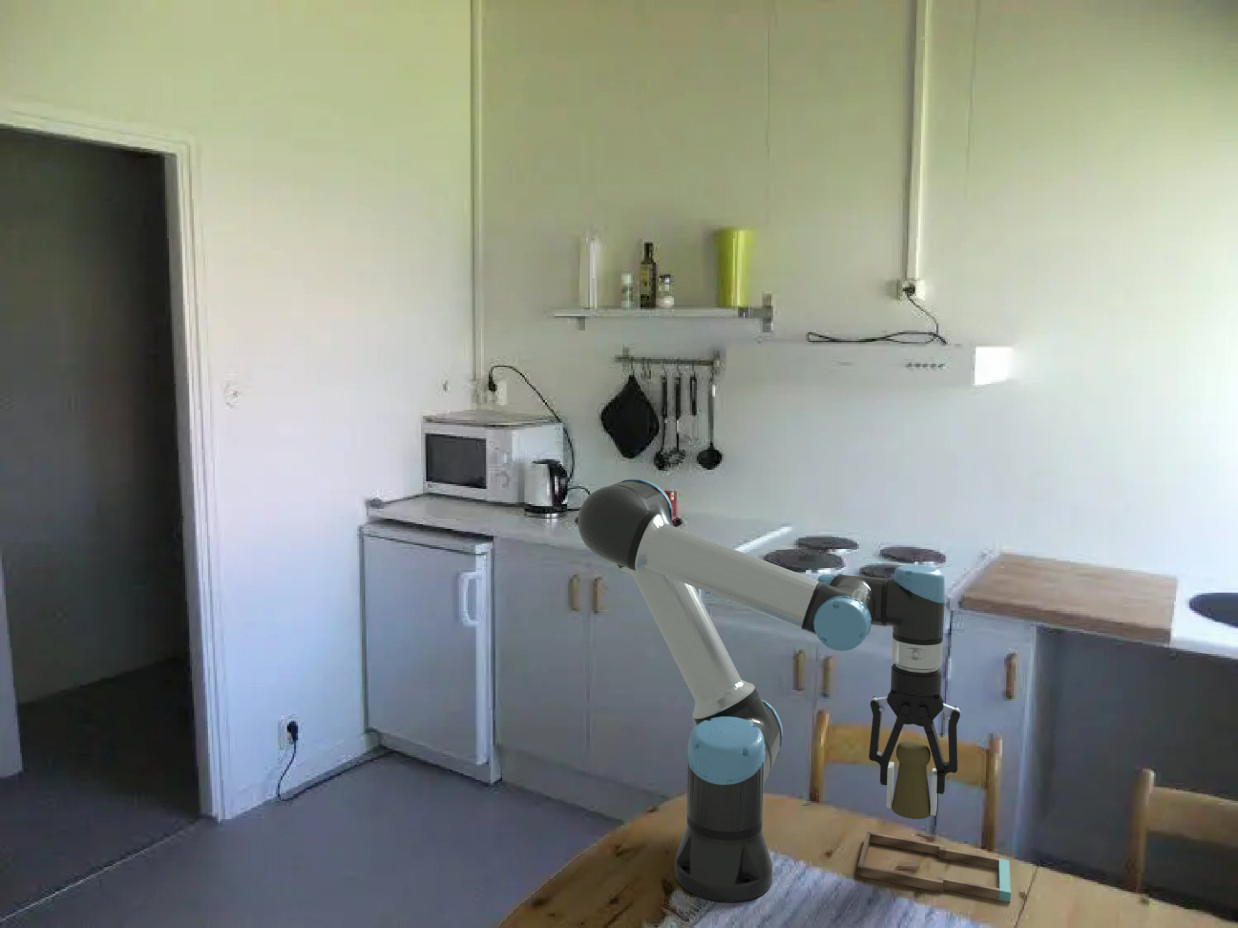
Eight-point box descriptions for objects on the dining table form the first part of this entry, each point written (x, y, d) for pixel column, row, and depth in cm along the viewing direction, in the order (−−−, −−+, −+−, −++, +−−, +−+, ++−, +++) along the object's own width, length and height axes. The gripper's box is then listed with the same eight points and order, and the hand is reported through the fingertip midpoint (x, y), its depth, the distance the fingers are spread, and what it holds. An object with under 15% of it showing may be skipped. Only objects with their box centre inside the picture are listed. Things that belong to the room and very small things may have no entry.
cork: (933, 820, 146) (936, 752, 145) (892, 817, 147) (895, 748, 146) (928, 803, 152) (931, 737, 151) (889, 800, 153) (892, 734, 152)
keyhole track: (857, 875, 147) (857, 866, 147) (866, 840, 159) (867, 831, 158) (1010, 905, 139) (1010, 896, 139) (1008, 866, 151) (1009, 857, 150)
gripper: (851, 665, 147) (847, 807, 149) (981, 680, 140) (974, 829, 143) (857, 652, 154) (853, 788, 156) (981, 665, 147) (975, 808, 149)
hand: (911, 807), depth 149 cm, fingers closed on cork, 6 cm apart
